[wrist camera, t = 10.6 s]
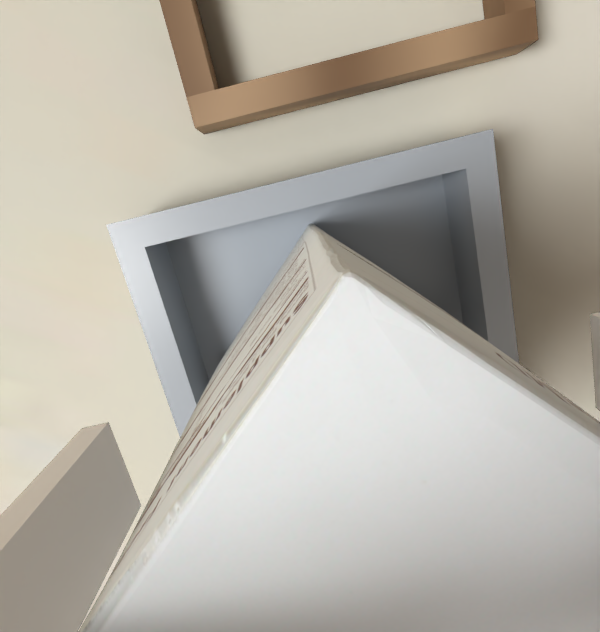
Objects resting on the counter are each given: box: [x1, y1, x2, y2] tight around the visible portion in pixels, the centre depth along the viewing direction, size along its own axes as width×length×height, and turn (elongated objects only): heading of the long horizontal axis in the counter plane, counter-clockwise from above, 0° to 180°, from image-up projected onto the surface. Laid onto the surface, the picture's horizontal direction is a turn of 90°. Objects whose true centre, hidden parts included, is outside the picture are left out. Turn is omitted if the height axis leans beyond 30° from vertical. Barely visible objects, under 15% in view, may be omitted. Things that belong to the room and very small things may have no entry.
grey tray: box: [107, 129, 519, 437], centre depth 17 cm, size 13×13×3 cm
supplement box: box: [78, 223, 600, 632], centre depth 12 cm, size 7×7×13 cm
